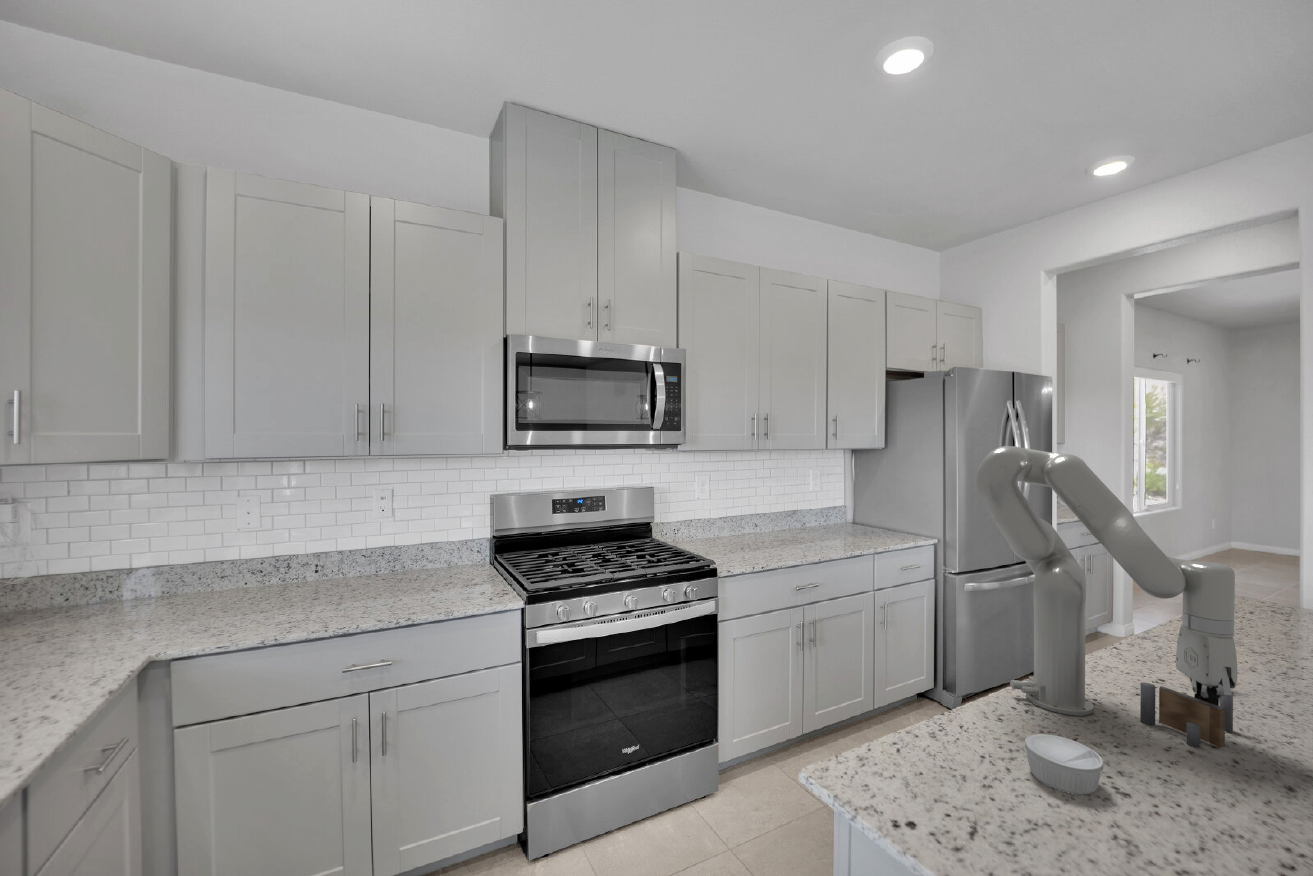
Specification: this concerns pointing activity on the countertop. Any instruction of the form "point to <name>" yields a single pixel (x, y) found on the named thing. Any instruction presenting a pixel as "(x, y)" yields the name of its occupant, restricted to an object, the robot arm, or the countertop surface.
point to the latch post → (1227, 711)
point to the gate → (1192, 715)
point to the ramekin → (1063, 763)
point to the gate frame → (1149, 714)
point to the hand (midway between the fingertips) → (1206, 715)
